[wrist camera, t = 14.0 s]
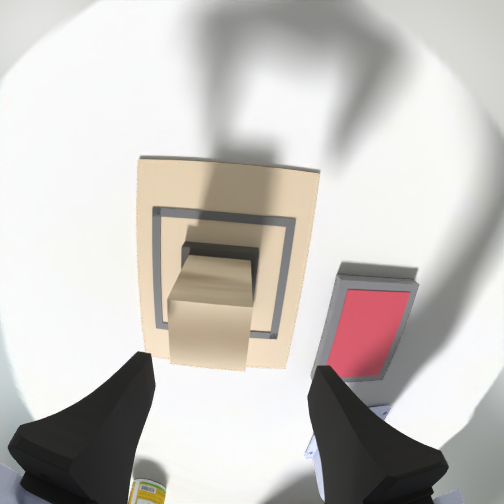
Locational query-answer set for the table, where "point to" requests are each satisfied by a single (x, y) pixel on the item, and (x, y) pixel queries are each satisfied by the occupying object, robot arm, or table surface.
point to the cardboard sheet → (225, 241)
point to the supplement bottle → (147, 492)
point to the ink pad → (364, 325)
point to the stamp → (212, 306)
